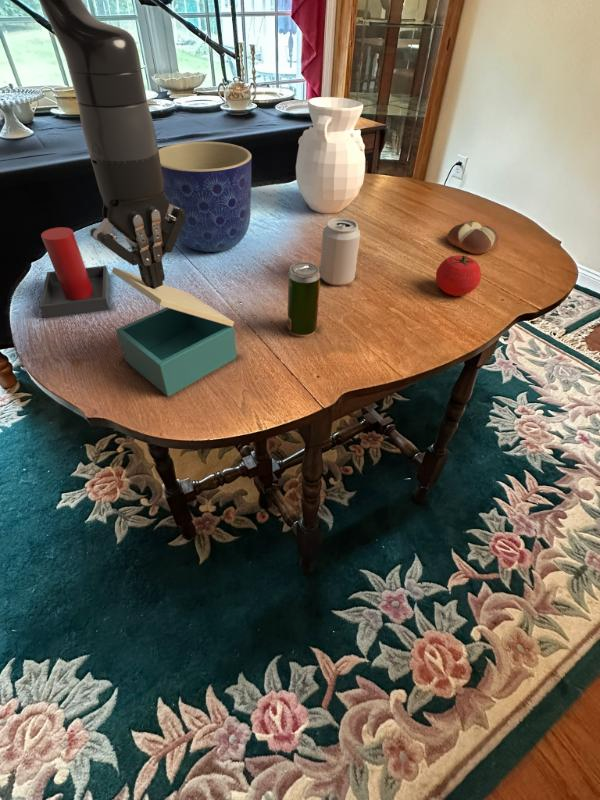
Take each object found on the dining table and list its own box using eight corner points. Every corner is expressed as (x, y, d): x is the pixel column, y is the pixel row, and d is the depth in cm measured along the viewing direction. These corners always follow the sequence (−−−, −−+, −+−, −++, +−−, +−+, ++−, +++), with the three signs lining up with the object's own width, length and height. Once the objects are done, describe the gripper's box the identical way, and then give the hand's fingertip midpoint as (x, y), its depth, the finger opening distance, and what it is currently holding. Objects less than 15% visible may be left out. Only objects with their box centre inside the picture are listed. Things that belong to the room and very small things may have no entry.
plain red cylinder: (98, 293, 85) (78, 233, 76) (73, 303, 82) (49, 242, 74) (84, 284, 87) (64, 224, 79) (60, 293, 84) (35, 233, 76)
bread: (474, 258, 102) (481, 238, 98) (439, 240, 109) (444, 220, 105) (504, 248, 106) (512, 228, 103) (469, 231, 113) (475, 212, 110)
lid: (159, 305, 56) (161, 299, 56) (111, 272, 62) (113, 266, 61) (232, 326, 68) (234, 322, 68) (186, 297, 74) (188, 293, 74)
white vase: (346, 225, 113) (358, 113, 96) (283, 212, 119) (284, 103, 101) (369, 202, 126) (383, 99, 108) (311, 191, 131) (316, 91, 113)
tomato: (439, 303, 87) (450, 266, 82) (426, 281, 93) (436, 245, 88) (481, 302, 88) (494, 265, 82) (466, 280, 94) (477, 245, 89)
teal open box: (167, 397, 65) (159, 365, 61) (125, 361, 71) (115, 329, 67) (236, 358, 73) (233, 326, 68) (193, 328, 78) (188, 297, 74)
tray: (45, 318, 79) (39, 306, 77) (51, 283, 88) (47, 271, 86) (109, 310, 82) (105, 298, 80) (109, 277, 91) (106, 265, 89)
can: (358, 274, 95) (365, 219, 86) (349, 290, 90) (356, 233, 81) (325, 268, 96) (329, 213, 88) (315, 283, 91) (318, 227, 83)
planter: (174, 267, 94) (156, 173, 81) (163, 229, 108) (147, 144, 95) (265, 256, 99) (262, 166, 86) (244, 221, 113) (239, 138, 100)
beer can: (295, 341, 76) (296, 279, 68) (282, 325, 80) (282, 264, 72) (321, 334, 78) (326, 273, 70) (308, 318, 82) (311, 259, 73)
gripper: (155, 132, 54) (178, 261, 66) (50, 151, 47) (97, 292, 59) (191, 144, 51) (208, 279, 63) (84, 167, 44) (126, 314, 56)
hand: (154, 285), depth 61 cm, fingers closed
